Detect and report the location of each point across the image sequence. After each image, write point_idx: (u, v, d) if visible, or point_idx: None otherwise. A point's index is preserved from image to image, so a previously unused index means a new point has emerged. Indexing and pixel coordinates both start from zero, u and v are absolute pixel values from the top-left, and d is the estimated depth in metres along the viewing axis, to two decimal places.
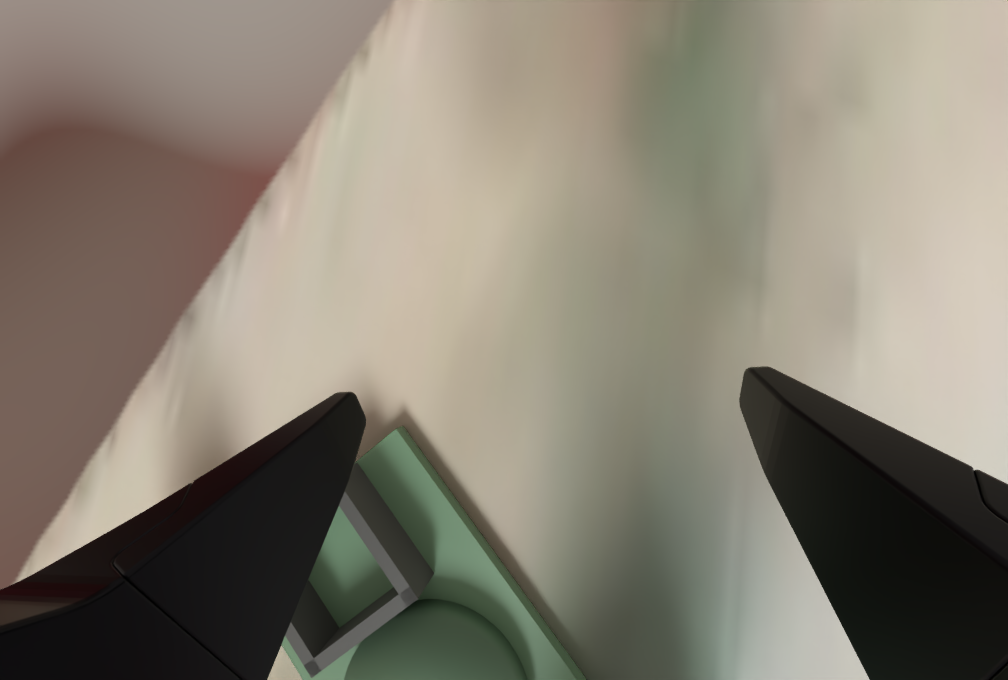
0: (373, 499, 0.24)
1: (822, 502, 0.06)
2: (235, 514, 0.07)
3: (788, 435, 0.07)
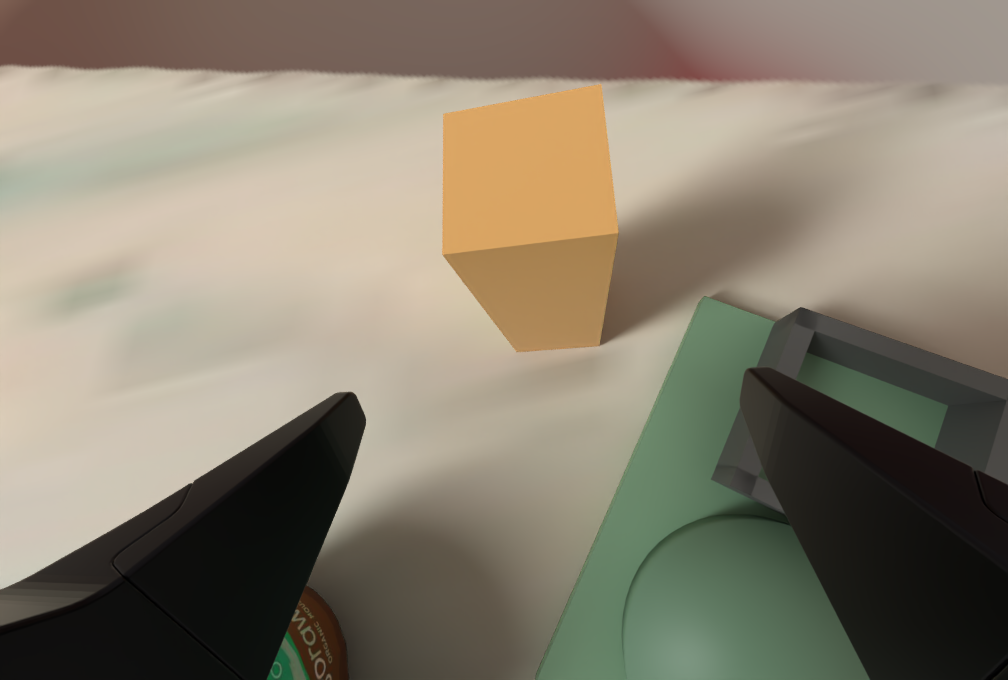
0: None
1: (822, 502, 0.06)
2: (235, 514, 0.07)
3: (788, 435, 0.07)
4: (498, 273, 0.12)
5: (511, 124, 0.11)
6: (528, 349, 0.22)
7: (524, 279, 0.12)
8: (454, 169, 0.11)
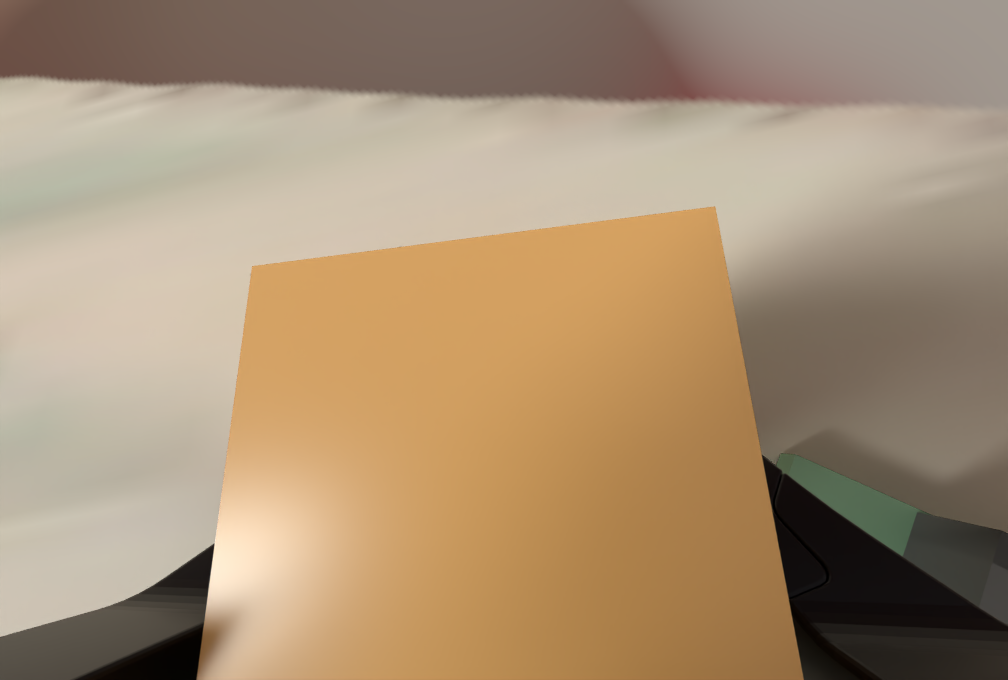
0: None
1: None
2: None
3: None
4: None
5: (431, 320, 0.04)
6: None
7: None
8: (257, 460, 0.04)
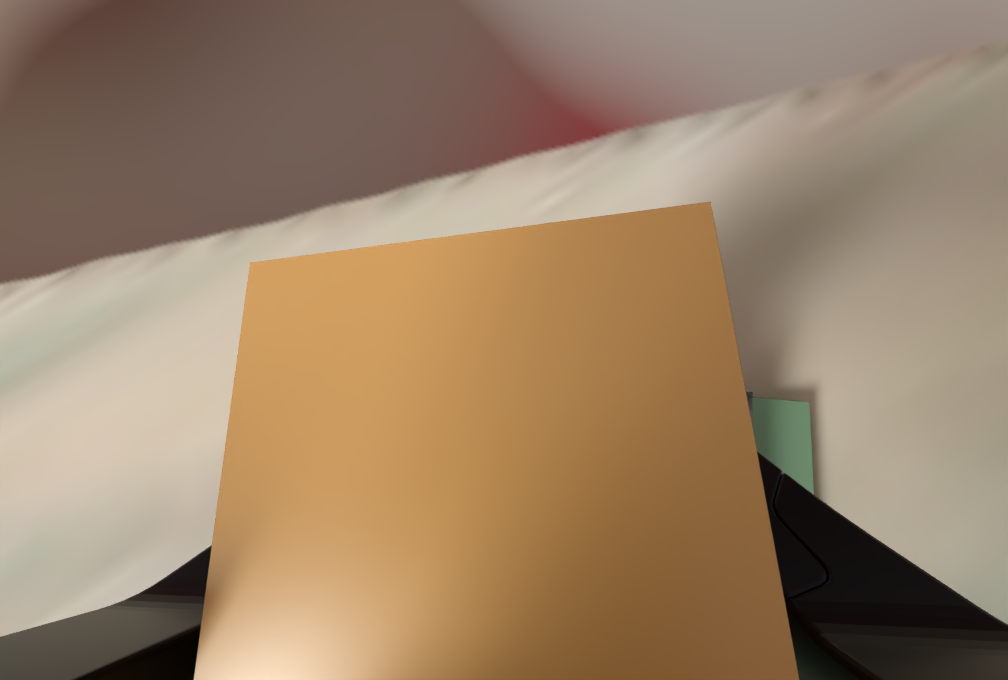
0: None
1: None
2: None
3: None
4: None
5: (428, 316, 0.04)
6: None
7: None
8: (255, 454, 0.04)
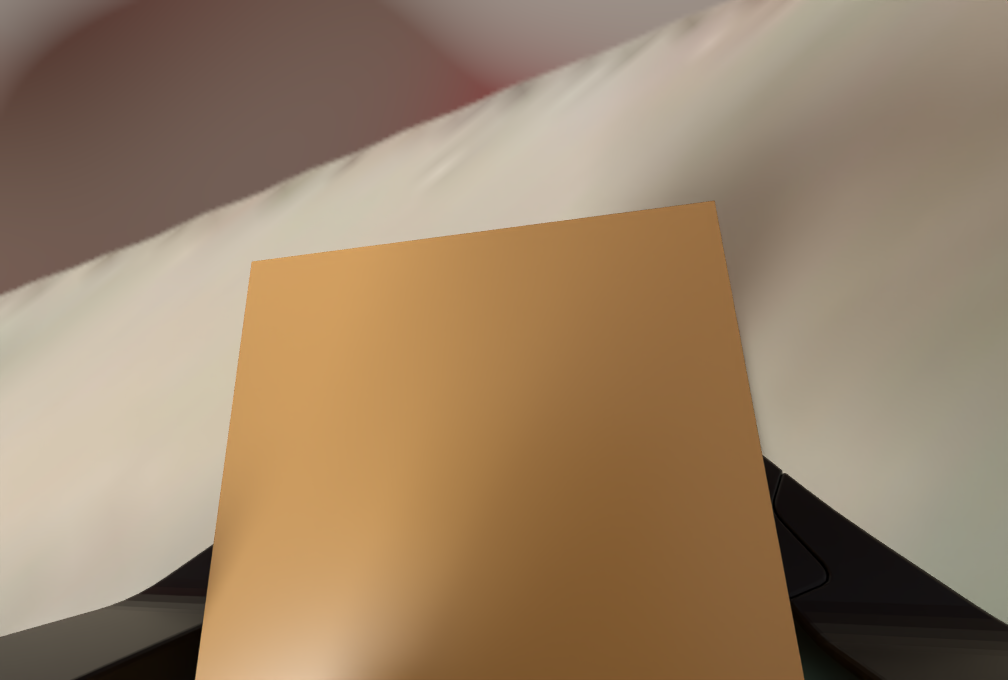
0: None
1: None
2: None
3: None
4: None
5: (430, 316, 0.04)
6: None
7: None
8: (256, 454, 0.04)
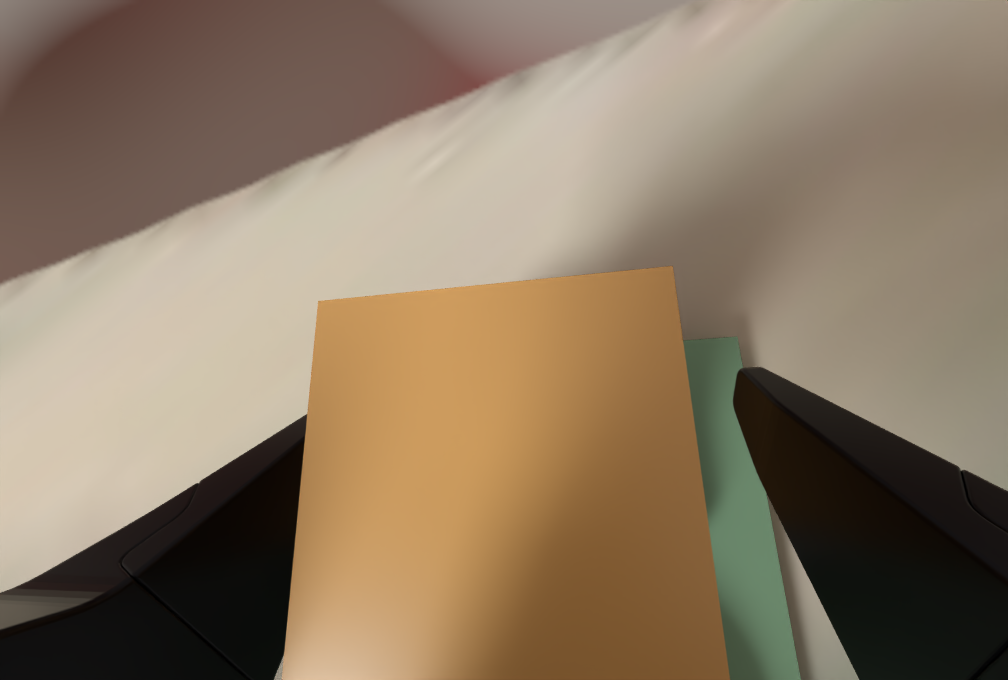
0: None
1: (812, 502, 0.06)
2: (242, 514, 0.07)
3: (779, 436, 0.07)
4: None
5: (460, 348, 0.05)
6: None
7: None
8: (328, 451, 0.05)
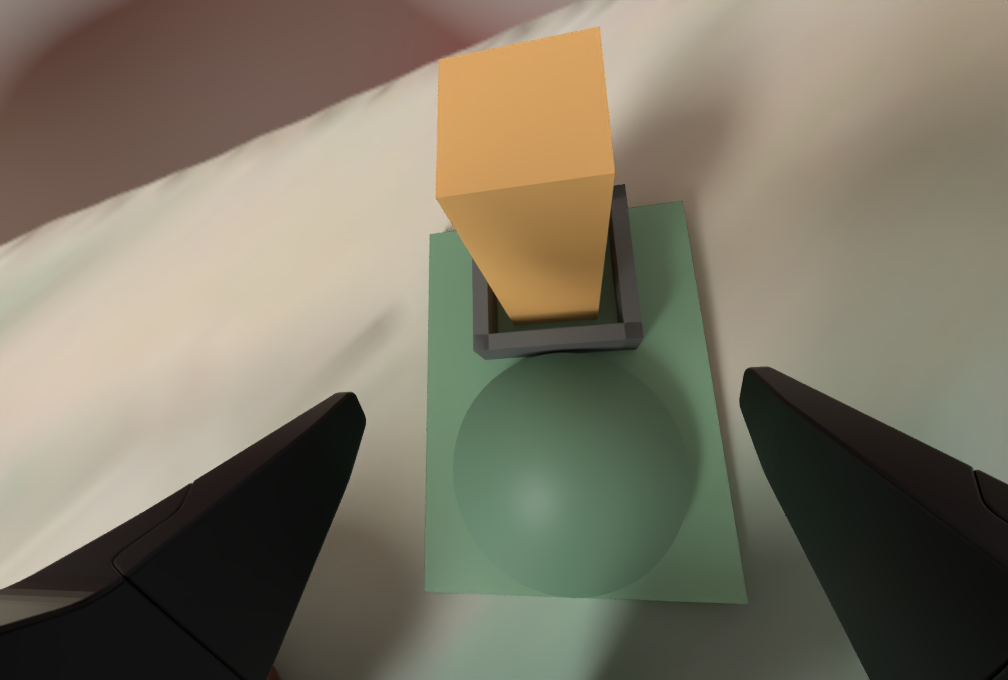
0: None
1: (822, 502, 0.06)
2: (235, 514, 0.07)
3: (788, 435, 0.07)
4: (493, 223, 0.12)
5: (507, 68, 0.11)
6: (526, 322, 0.22)
7: (520, 231, 0.12)
8: (449, 113, 0.11)
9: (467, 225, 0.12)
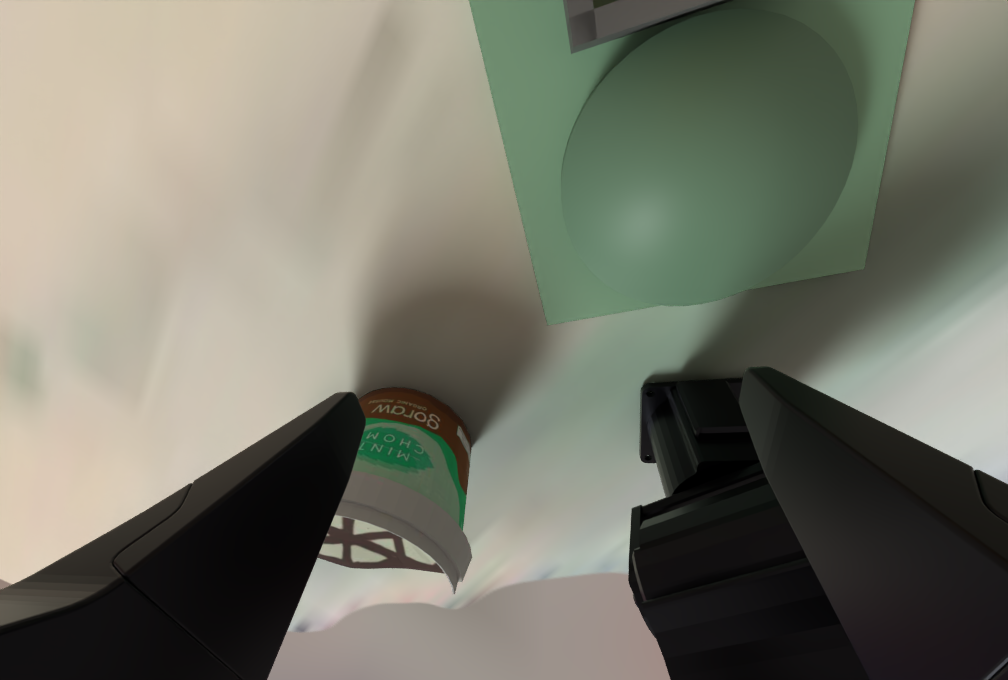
0: None
1: (822, 502, 0.06)
2: (235, 514, 0.07)
3: (788, 435, 0.07)
4: None
5: None
6: None
7: None
8: None
9: None
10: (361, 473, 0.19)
